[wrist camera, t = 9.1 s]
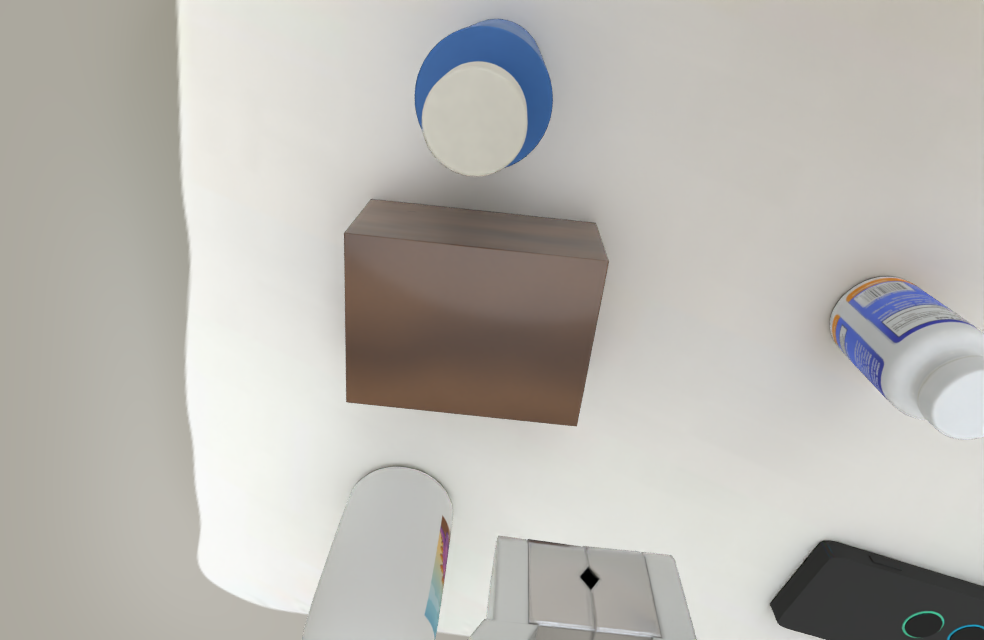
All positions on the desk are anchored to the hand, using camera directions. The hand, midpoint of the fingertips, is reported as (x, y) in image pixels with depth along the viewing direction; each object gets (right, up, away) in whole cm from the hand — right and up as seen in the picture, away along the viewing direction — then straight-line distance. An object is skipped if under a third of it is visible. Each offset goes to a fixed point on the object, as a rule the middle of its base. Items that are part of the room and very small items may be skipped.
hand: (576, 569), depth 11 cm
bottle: (-2, +12, +22) cm, 25 cm away
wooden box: (-2, +6, +27) cm, 28 cm away
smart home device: (+31, -18, +38) cm, 52 cm away
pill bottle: (+22, +5, +27) cm, 35 cm away
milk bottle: (-8, -9, +35) cm, 37 cm away
